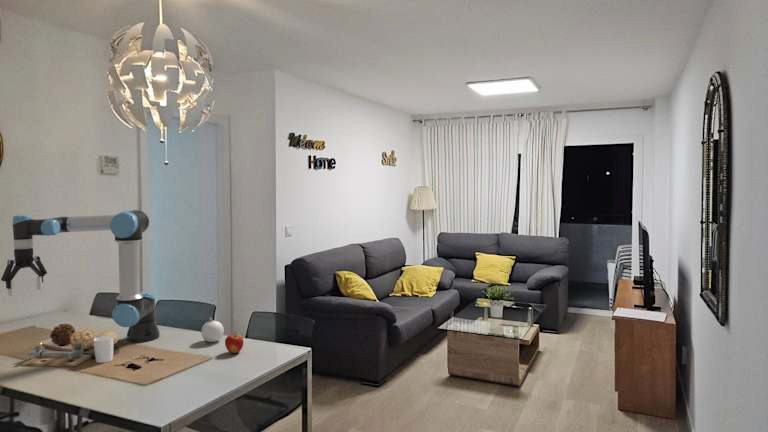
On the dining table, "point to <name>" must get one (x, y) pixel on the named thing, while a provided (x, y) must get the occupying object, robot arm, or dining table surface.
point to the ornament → (212, 331)
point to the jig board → (55, 361)
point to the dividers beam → (65, 353)
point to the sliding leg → (36, 350)
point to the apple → (234, 343)
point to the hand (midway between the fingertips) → (25, 292)
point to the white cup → (104, 348)
